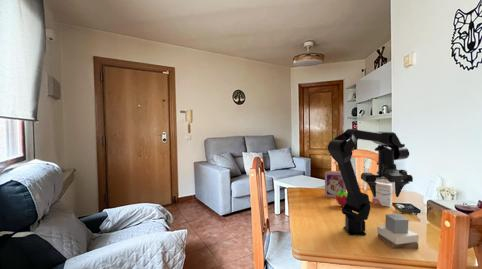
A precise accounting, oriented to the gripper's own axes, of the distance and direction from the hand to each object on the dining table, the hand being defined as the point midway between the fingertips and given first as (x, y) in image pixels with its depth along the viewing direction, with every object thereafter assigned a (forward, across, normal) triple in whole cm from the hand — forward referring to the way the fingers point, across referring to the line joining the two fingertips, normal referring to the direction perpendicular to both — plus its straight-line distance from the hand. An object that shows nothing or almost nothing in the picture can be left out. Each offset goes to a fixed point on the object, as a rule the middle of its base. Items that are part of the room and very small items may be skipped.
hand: (385, 196), depth 100 cm
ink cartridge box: (+13, +11, +26) cm, 31 cm away
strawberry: (+12, -11, +21) cm, 27 cm away
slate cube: (+8, -4, -15) cm, 17 cm away
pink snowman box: (+12, -9, +39) cm, 42 cm away
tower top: (+10, -4, -15) cm, 18 cm away
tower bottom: (+13, -4, -15) cm, 20 cm away
